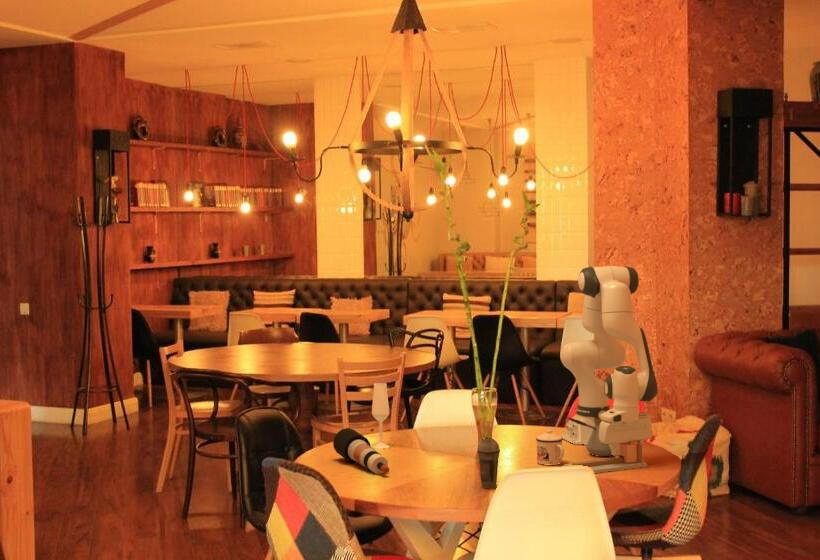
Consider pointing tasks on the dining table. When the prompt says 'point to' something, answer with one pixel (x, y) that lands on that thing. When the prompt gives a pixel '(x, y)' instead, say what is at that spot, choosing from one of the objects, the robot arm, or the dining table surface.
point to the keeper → (627, 451)
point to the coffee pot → (595, 439)
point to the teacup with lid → (549, 448)
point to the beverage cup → (488, 461)
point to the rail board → (613, 463)
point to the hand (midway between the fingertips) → (626, 454)
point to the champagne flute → (380, 409)
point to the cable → (359, 451)
